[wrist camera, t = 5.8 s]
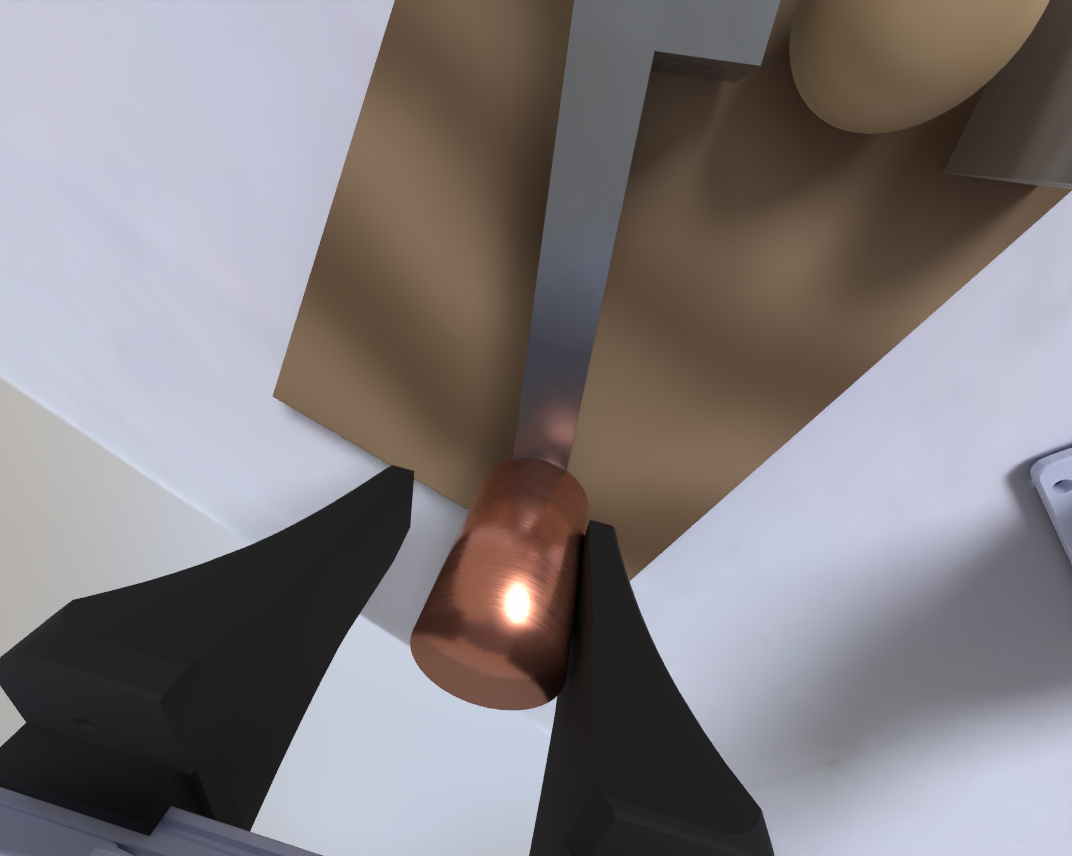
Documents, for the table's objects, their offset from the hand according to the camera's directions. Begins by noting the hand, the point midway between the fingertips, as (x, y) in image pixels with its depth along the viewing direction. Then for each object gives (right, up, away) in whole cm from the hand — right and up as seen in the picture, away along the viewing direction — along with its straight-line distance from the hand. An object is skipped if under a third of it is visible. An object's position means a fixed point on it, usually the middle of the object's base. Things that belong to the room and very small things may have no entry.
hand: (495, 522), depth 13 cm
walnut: (+8, +11, -3) cm, 13 cm away
